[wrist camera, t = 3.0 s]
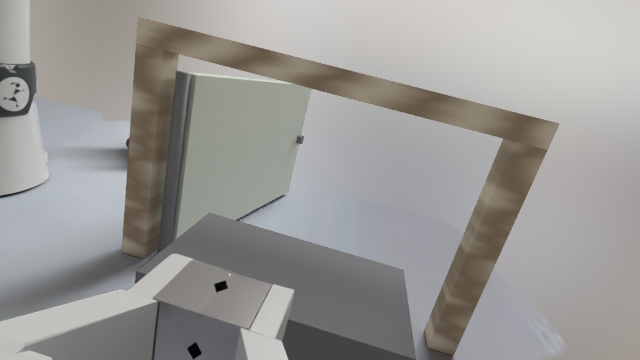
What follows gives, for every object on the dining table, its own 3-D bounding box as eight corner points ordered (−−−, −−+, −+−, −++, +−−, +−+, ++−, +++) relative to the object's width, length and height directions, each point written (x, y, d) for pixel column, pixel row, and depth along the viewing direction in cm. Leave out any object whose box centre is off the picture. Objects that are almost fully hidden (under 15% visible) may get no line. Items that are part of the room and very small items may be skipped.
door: (169, 260, 34) (191, 76, 29) (148, 249, 35) (165, 68, 30) (291, 193, 59) (315, 86, 54) (277, 187, 60) (299, 82, 55)
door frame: (121, 252, 35) (138, 16, 28) (137, 241, 37) (155, 21, 30) (453, 355, 32) (559, 123, 25) (448, 337, 34) (544, 120, 28)
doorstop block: (126, 389, 22) (136, 271, 20) (197, 301, 31) (210, 211, 28) (368, 472, 21) (415, 359, 18) (370, 356, 30) (403, 267, 27)
